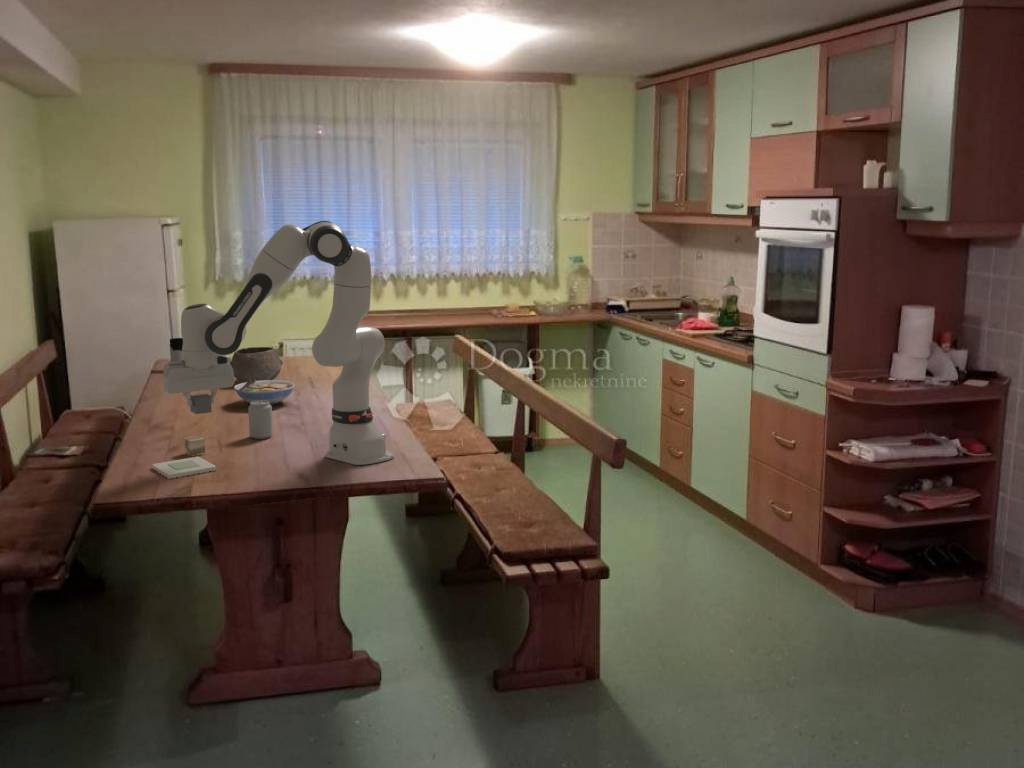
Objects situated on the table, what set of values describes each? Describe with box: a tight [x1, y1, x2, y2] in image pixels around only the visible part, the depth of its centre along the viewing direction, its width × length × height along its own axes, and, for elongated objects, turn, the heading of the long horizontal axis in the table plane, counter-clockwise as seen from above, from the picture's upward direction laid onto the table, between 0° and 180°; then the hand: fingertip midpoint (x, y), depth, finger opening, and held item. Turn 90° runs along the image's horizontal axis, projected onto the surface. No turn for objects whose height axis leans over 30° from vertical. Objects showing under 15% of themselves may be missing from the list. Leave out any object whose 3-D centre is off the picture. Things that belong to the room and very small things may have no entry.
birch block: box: [183, 435, 206, 457], centre depth 295 cm, size 5×5×5 cm
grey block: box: [189, 392, 212, 415], centre depth 283 cm, size 5×5×5 cm
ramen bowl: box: [233, 377, 295, 406], centre depth 366 cm, size 25×23×8 cm
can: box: [247, 400, 274, 440], centre depth 315 cm, size 8×8×12 cm
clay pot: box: [229, 346, 284, 383], centre depth 406 cm, size 21×21×15 cm
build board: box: [151, 455, 218, 480], centre depth 279 cm, size 14×14×1 cm
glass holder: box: [169, 337, 183, 362], centre depth 434 cm, size 9×14×15 cm, turn 100°
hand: (200, 404), depth 283 cm, fingers closed on grey block, 5 cm apart
